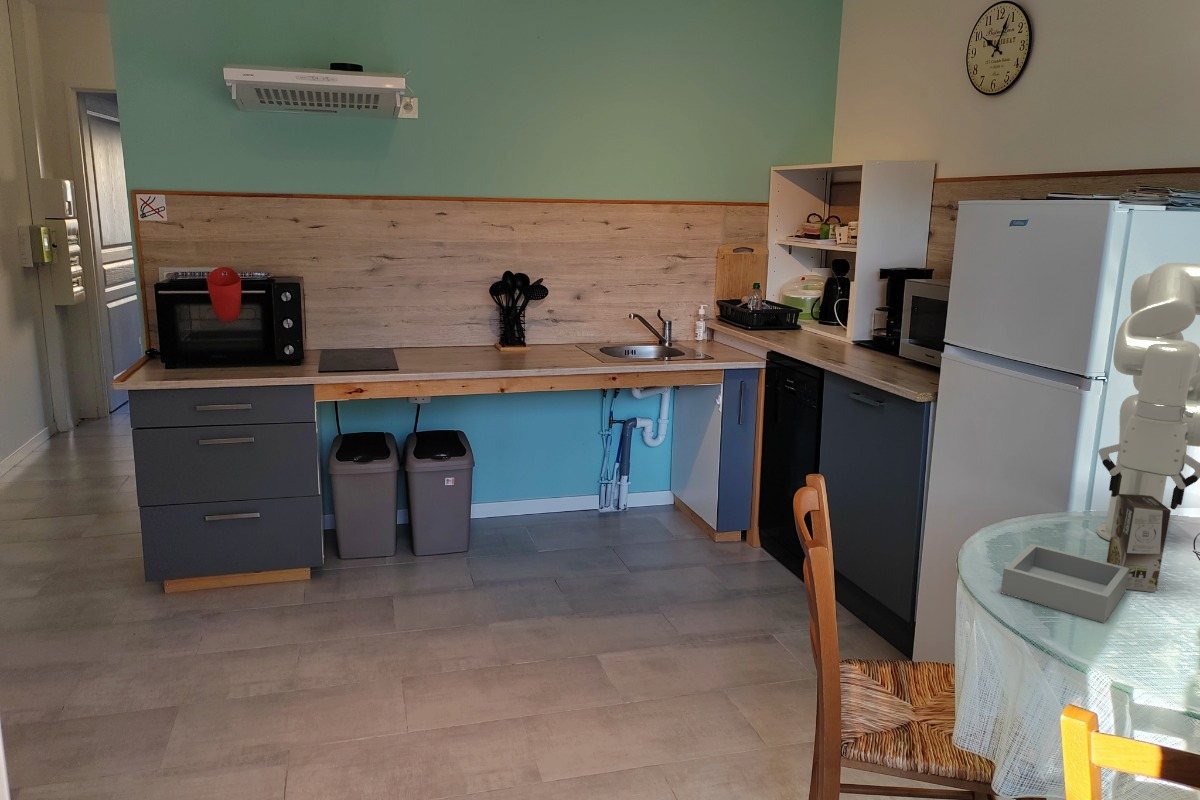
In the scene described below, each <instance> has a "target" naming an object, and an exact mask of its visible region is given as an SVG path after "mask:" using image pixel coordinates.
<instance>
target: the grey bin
mask: <svg viewBox="0 0 1200 800" xmlns="http://www.w3.org/2000/svg"><path fill="white" fill-rule="evenodd" d="M1129 569H1130V568H1126V567H1123V566H1119V565H1115V564H1111V563H1107V561H1103V560H1098V559H1095V558H1090V557H1087V556H1083V555H1079V554H1075V553H1071V552H1067V551H1064V550H1063V551H1062V550H1059V549H1055V548H1052V547H1051V548H1050V547H1048V546H1044V545H1043V546H1042V545H1039V544H1035V543H1030V545H1028V546H1027V547H1026V548H1025V549H1024V550H1022V551H1021V552H1020V553H1019V554H1018V555H1017V556H1015V558H1014V559H1013V560H1012V561H1010V562H1009V563H1008V564H1007V565H1006V566H1005V567H1004V568H1003V574H1002V579H1001V588H1000V593H1001V592H1003V593H1005V594H1004V595H1006V594H1010V595H1013V596H1017V597H1020V598H1023V599H1026V600H1029V601H1028V602H1030V601H1032V602H1031V603H1033V602H1035V603H1034V604H1037V603H1038V605H1040V604H1041V605H1040V606H1044V607H1047V606H1048V607H1047V608H1051V609H1054V610H1058V611H1062V612H1064V613H1069V614H1072V615H1075V616H1078V617H1082V618H1086V619H1088V620H1092V621H1096V622H1099V623H1102V624H1104V623H1105V622H1106V621H1107V619H1108V618H1109V616H1111V613H1112V612H1113V611H1114V609H1115V608H1116V606H1117V605H1118V604H1119V602H1120V601H1121V599H1122V598H1123V596H1124V595H1125V594H1126V591H1127V589H1126V586H1127V580H1128V574H1129ZM1013 596H1012V597H1013ZM1020 598H1019V599H1020ZM1023 599H1022V600H1023ZM1026 600H1025V601H1026Z"/></svg>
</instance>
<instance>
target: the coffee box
mask: <svg viewBox="0 0 1200 800" xmlns="http://www.w3.org/2000/svg"><path fill="white" fill-rule="evenodd" d="M1171 513H1172V509H1171V508H1170V509H1169V507H1167V505H1164V504H1163V502H1162V503H1160V502H1159V501H1158V500H1156V499H1155V498H1154V497H1152V496H1147V495H1132V494H1129V495H1127V494H1118V495H1117V499H1116V505H1115V512H1114V518H1113V524H1112V530H1111V537H1110V541H1109V544H1108V550H1107V557H1106V562H1107V563H1111V564H1115V565H1119V566H1123V567H1126V568H1130V569H1129V574H1128V580H1127V586H1126V590H1131V591H1139V592H1140V591H1141V592H1148V593H1156V592H1157V587H1158V581H1159V577H1160V570H1161V565H1162V559H1163V554H1164V549H1165V545H1166V539H1167V533H1168V528H1169V523H1170V517H1171Z"/></svg>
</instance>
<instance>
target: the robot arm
mask: <svg viewBox="0 0 1200 800" xmlns="http://www.w3.org/2000/svg"><path fill="white" fill-rule="evenodd" d="M1130 313H1131V314H1130V315H1129V316H1127V317H1126V318H1125V319H1124V320H1123V322H1122V323H1121V324H1120V326H1119V327H1118V330H1117V333H1116V337H1115V344H1114V350H1113V366H1114V368H1115V369H1116V372H1119V373H1120V374H1124V375H1126V376H1132V381H1133V387H1134V388H1135V390H1136V391H1137V392H1138V393H1137V394H1132V395H1129V396H1127V397H1126V398H1125V399H1124V400H1123V401H1122V403H1121V405H1120V408H1119V409H1120V410H1119V434H1118V435H1119V437H1118V443H1117V444H1113V445H1108V446H1105V447H1101V448H1100V449H1098V455H1099V457H1100V460H1101V461H1102V462H1101V463H1102V466H1104V467H1105V469H1106V470H1107V471H1108V473H1109V475H1110V480H1109V488H1108V491H1110V493H1111V494H1110V499H1109V505H1108V511H1107V516H1106V523H1101V524H1099V525H1098V526H1097V528H1096V533H1097V535H1098V536H1099V537H1100V538H1102V539H1104V540H1106V541H1108V542H1110V537H1111V530H1112V524H1113V518H1114V512H1115V505H1116V499H1117V495H1118V494H1127V495H1129V494H1132V495H1147V496H1152V497H1154V498H1155V499H1156V500H1158V501H1159V502H1160V503H1162V504H1163V500H1164V496H1165V490H1166V484H1167V478H1168V477H1170V478H1171V479H1172V481H1173V483H1174V484H1175V486H1174V488H1173V489H1172V490H1173V491H1172V496H1171V502H1170V507H1169V508H1170V510H1176V509H1177V507H1178V506H1182V503H1183V500H1184V495H1185V489H1186V488H1188V487H1189V486H1191V485H1194V484H1195V483H1196V482H1198V480H1199V479H1200V462H1199V461H1197V460H1196V459H1194V458H1193V457H1192V456H1190V455H1188V454H1187V450H1188V449H1187V448H1188V446H1189V447H1200V347H1199V345H1198V344H1196V343H1195V342H1192V341H1190V340H1185V339H1184V336H1183V333H1182V332H1183V331H1185V330H1187V329H1188V328H1190V326H1191V325H1192V324H1193V323H1194V321H1195V319H1196V316H1200V263H1190V262H1186V263H1185V262H1169V263H1165V264H1162V265H1159V266H1158V267H1156V268H1155V269H1154V270H1153V271H1152V272H1151V273H1145V274H1142V275H1139V276H1138V277H1136V278H1135V280H1134V281H1133V284H1132V286H1131V290H1130ZM1112 453H1113V454H1114V453H1117V455H1116V463H1115V462H1114V461H1113V460H1112V459H1111V458H1110V454H1112ZM1185 465H1187V466H1189V467H1190V468H1192V469H1193V470H1194V472H1193V473H1192V474H1191V475H1189V476H1187V477H1186V478H1185V476H1184V475H1183V473H1182V472H1183V471H1184V469H1185Z"/></svg>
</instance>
